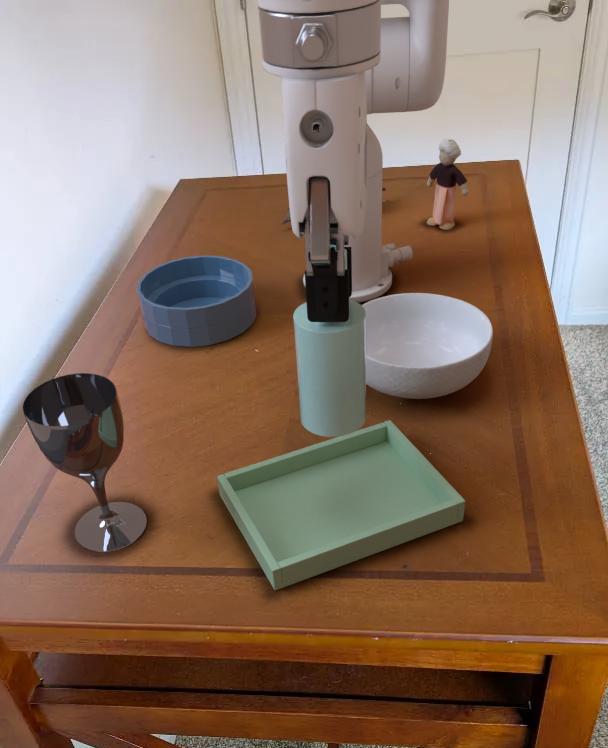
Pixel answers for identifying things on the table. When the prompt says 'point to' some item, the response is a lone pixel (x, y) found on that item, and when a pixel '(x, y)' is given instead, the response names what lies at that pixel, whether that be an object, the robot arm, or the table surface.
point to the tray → (337, 502)
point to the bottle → (331, 371)
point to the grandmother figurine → (446, 185)
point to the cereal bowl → (424, 344)
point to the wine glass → (86, 450)
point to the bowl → (197, 300)
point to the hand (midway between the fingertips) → (330, 306)
